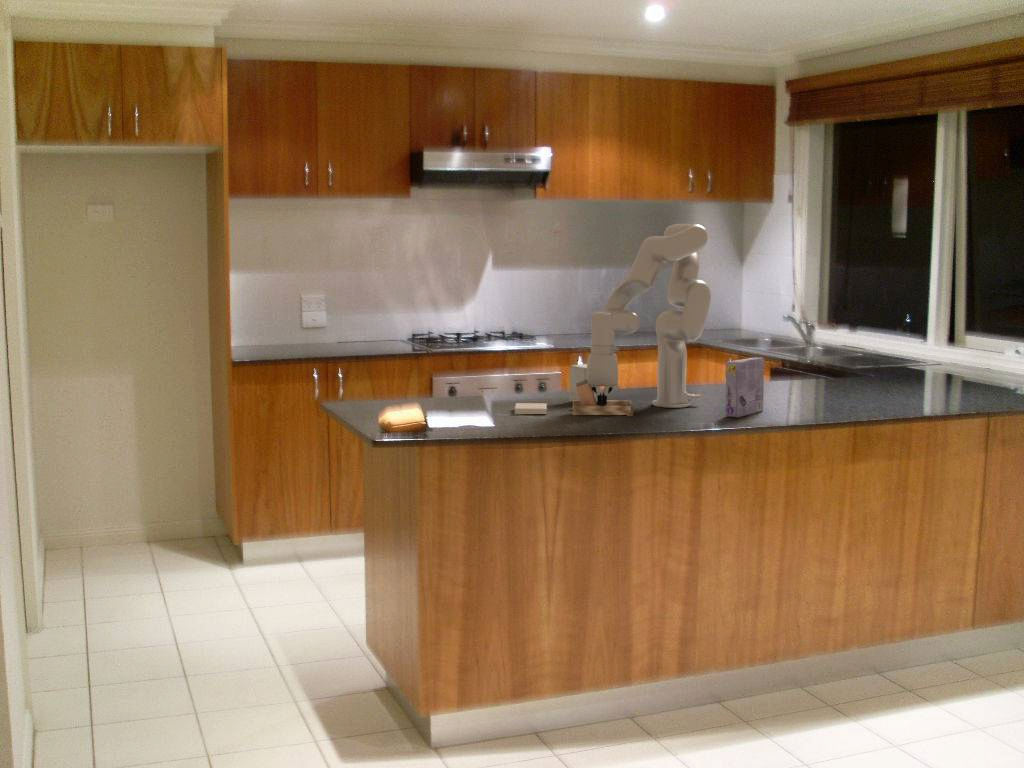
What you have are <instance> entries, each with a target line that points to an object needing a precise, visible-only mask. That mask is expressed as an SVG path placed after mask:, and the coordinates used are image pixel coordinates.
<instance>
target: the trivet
mask: <svg viewBox="0 0 1024 768" xmlns="http://www.w3.org/2000/svg"><path fill="white" fill-rule="evenodd" d="M547 406H548V404H547V403H546V402H545V403H543V402H542V403H541V402H540V403H537V402H536V403H535V402H534V403H533V402H528V403H527V402H526V403H525V402H524V403H523V402H522V403H521V402H518V403H517V402H516V403H515V406H514V415H515V414H546V415H547V412H548V411H547V410H548V407H547ZM546 411H547V412H546Z"/></svg>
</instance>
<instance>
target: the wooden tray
mask: <svg viewBox="0 0 1024 768" xmlns="http://www.w3.org/2000/svg"><path fill="white" fill-rule="evenodd" d="M596 401H597V400H596ZM573 415H627V416H626V417H634V405H633V402H632V400H614V399H613V400H611V399H609V400H607V405H605V406H599V405H598V406H581V403H580V400H573V402H572V416H573Z"/></svg>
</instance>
